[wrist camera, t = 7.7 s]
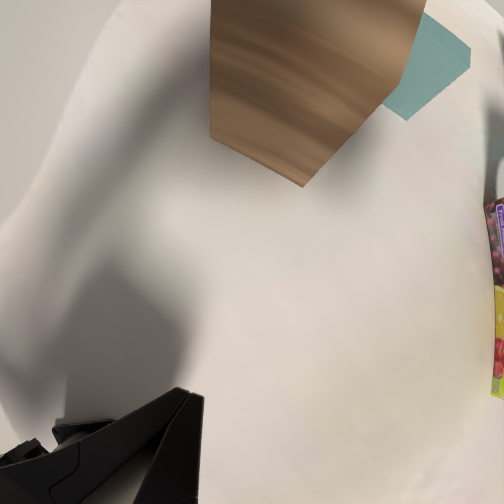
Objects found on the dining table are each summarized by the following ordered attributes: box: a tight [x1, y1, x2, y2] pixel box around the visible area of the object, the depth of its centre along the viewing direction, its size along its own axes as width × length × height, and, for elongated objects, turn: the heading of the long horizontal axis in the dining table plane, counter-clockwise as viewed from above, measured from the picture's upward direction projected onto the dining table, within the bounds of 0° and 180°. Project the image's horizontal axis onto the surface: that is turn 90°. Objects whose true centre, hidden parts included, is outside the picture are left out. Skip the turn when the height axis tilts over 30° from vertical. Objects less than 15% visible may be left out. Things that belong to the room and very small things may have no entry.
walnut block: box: [210, 0, 426, 188], centre depth 17 cm, size 12×8×14 cm, turn 151°
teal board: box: [382, 12, 471, 121], centre depth 20 cm, size 3×20×10 cm, turn 61°
